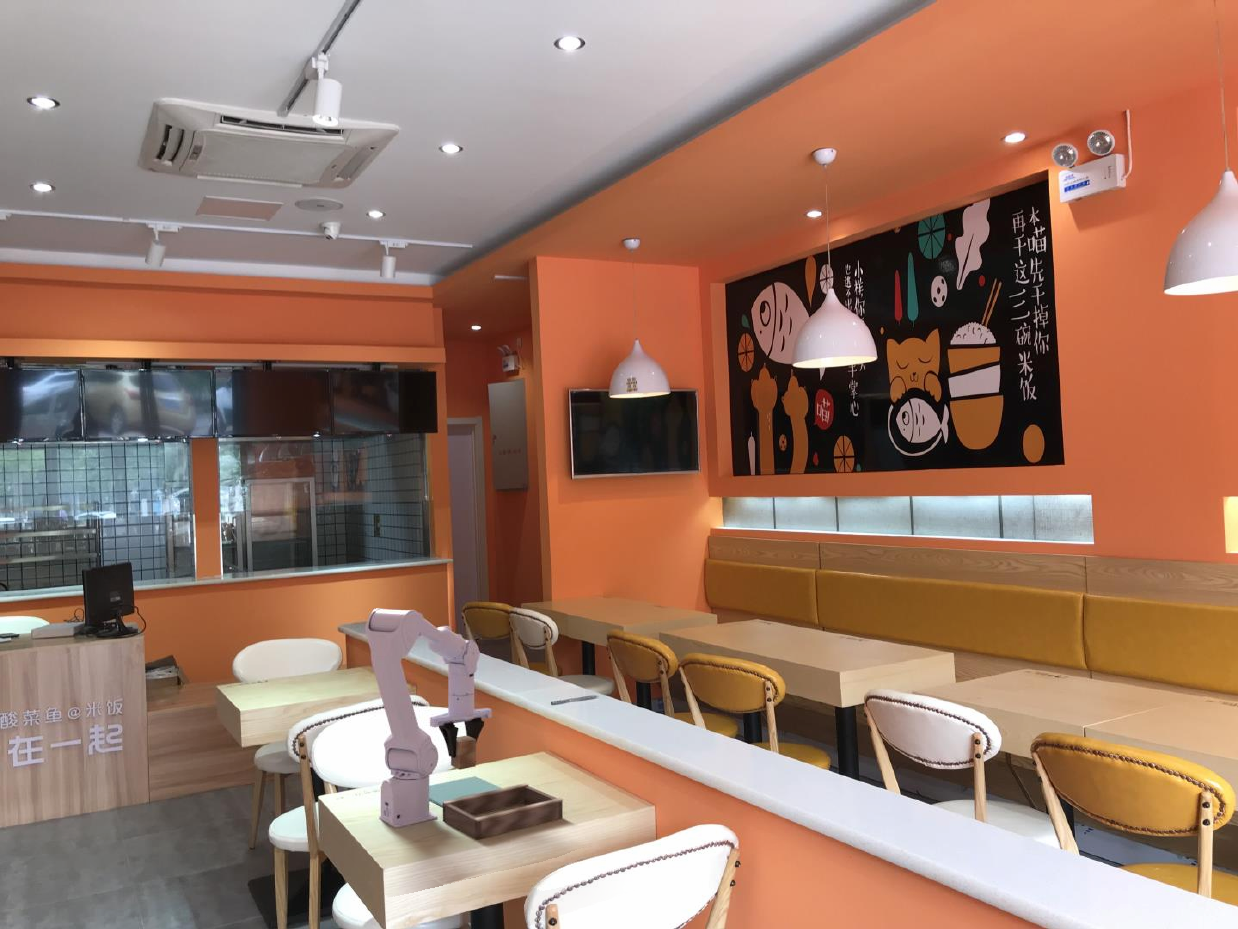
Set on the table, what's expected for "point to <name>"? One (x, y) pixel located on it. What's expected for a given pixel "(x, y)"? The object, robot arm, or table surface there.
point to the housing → (505, 821)
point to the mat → (459, 789)
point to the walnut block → (464, 753)
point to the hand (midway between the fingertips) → (461, 754)
